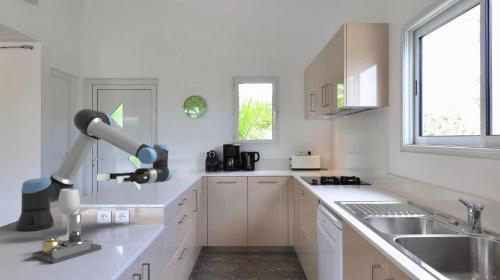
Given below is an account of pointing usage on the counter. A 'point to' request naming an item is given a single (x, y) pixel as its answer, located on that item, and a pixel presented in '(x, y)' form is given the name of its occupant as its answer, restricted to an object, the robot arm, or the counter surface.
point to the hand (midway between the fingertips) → (106, 178)
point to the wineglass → (68, 206)
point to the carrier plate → (49, 257)
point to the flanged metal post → (74, 230)
